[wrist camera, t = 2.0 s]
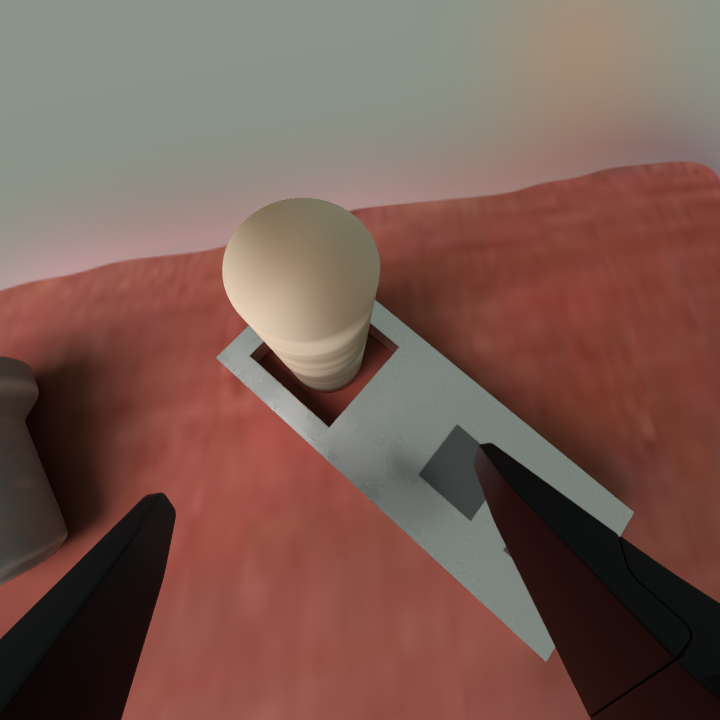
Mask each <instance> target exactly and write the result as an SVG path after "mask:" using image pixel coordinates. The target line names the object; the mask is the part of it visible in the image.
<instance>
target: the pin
mask: <svg viewBox="0 0 720 720" xmlns="http://www.w3.org/2000/svg"><path fill="white" fill-rule="evenodd" d="M222 271H223V282H224V287H225V290H226V293H227V295H228V298H229V300H230V301H231V303H232V305H233V307H234V308H235V309H236V311H237V312H238V313H239V314H240V316H241V317H242V318H243V319H244V320H245V321H246V322H247V323H248V324H249V325H250V326H251V328H252V329H253V330H254V331H255V332H256V333H257V334H258V335H259V336H260V337H261V338H262V340H263V341H264V342H265V343H266V344H267V345H268V346H269V347H270V348H271V349H272V351H273V352H274V353H275V354H276V355H277V356H278V357H279V358H280V359H281V360H282V361H283V363H284V364H285V365H286V366H287V367H288V368H289V369H290V370H291V371H292V372H293V373H294V375H295V376H296V377H297V378H298V379H299V380H300V381H301V382H302V383H303V384H304V385H305V386H307V387H308V388H310V389H312V390H314V391H317V392H322V393H331V392H336V391H339V390H342V389H344V388H345V387H347V386H348V385H350V384H351V383H352V382H353V381H354V379H355V378H356V377H357V375H358V373H359V371H360V367H361V363H362V359H363V354H364V349H365V344H366V340H367V335H368V330H369V326H370V321H371V316H372V311H373V307H374V302H375V297H376V293H377V288H378V283H379V277H380V259H379V253H378V250H377V246H376V244H375V242H374V239H373V237H372V235H371V234H370V232H369V231H368V229H367V228H366V227H365V226H364V224H363V223H362V222H361V221H360V220H359V219H358V218H356V217H355V216H354V215H353V214H351V213H350V212H349V211H347V210H346V209H344V208H342V207H340V206H338V205H335V204H333V203H330V202H327V201H323V200H319V199H311V198H295V199H287V200H282V201H279V202H276V203H273V204H270V205H268V206H265V207H263V208H261V209H260V210H258V211H256V212H255V213H253V214H252V215H251V216H250V217H248V218H247V219H246V220H245V221H244V222H243V223H242V224H241V225H240V226H239V227H238V229H237V230H236V231H235V233H234V234H233V236H232V238H231V239H230V241H229V243H228V246H227V248H226V251H225V255H224V259H223V268H222Z"/></svg>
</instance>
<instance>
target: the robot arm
mask: <svg viewBox="0 0 720 720" xmlns="http://www.w3.org/2000/svg"><path fill="white" fill-rule="evenodd" d="M474 469H475V472H476V475H477V477H478V480H479V483H480V485H481V488H482V491H483V494H484V496H485V499H486V502H487V504H488V507H489V510H490V513H491V515H492V518H493V520H494V522H495V525H496V527H497V529H498V531H499V533H500V535H501V537H502V539H503V541H504V543H505V545H506V547H507V549H508V551H509V553H510V555H511V557H512V560H513V562H514V564H515V566H516V568H517V570H518V572H519V574H520V576H521V578H522V580H523V582H524V584H525V586H526V588H527V590H528V592H529V594H530V596H531V598H532V600H533V602H534V604H535V606H536V609H537V611H538V613H539V615H540V617H541V619H542V621H543V623H544V625H545V627H546V629H547V631H548V633H549V635H550V637H551V639H552V641H553V643H554V645H555V647H556V649H557V651H558V653H559V655H560V658H561V660H562V662H563V664H564V666H565V668H566V670H567V672H568V674H569V676H570V678H571V680H572V682H573V684H574V686H575V688H576V690H577V692H578V694H579V696H580V698H581V700H582V702H583V704H584V707H585V709H586V711H587V713H588V715H589V716H590V717H591V720H720V603H718V602H717V601H715V600H714V599H712V598H711V597H709V596H708V595H706V594H704V593H703V592H701V591H700V590H698V589H697V588H695V587H694V586H692V585H690V584H689V583H687V582H686V581H684V580H683V579H681V578H680V577H678V576H677V575H675V574H674V573H672V572H671V571H669V570H668V569H666V568H665V567H663V566H662V565H660V564H659V563H658V562H656V561H655V560H653V559H652V558H650V557H649V556H648V555H646V554H645V553H643V552H642V551H641V550H639V549H638V548H636V547H635V546H634V545H632V544H631V543H629V542H628V541H627V540H625V539H624V538H623V537H619V536H618V534H617V533H616V532H614V531H613V530H611V529H610V528H609V527H607V526H606V525H605V524H603V523H602V522H600V521H599V520H598V519H596V518H595V517H594V516H592V515H591V514H589V513H588V512H587V511H585V510H584V509H583V508H581V507H580V506H578V505H577V504H576V503H574V502H573V501H572V500H570V499H569V498H567V497H566V496H565V495H563V494H562V493H561V492H559V491H558V490H556V489H555V488H554V487H552V486H551V485H550V484H548V483H547V482H545V481H544V480H543V479H541V478H540V477H539V476H537V475H536V474H534V473H533V472H532V471H530V470H529V469H528V468H526V467H525V466H523V465H522V464H521V463H519V462H518V461H517V460H515V459H514V458H512V457H511V456H510V455H508V454H507V453H506V452H504V451H503V450H501V449H500V448H499V447H497V446H496V445H494V444H493V443H484V444H479V445H478V446H477V448H476V453H475V458H474ZM175 518H176V512H175V509H174V507H173V505H172V504H171V502H170V501H169V499H168V498H167V496H166V495H165V494H164V493H155V494H149V495H147V496H145V497H144V498H142V499H141V500H140V501H139V502H138V503H137V504H136V505H135V506H134V507H133V508H132V509H131V510H130V511H129V512H128V513H127V514H126V515H125V516H124V517H123V518H122V519H121V520H120V521H119V522H118V523H117V524H116V525H115V526H114V527H113V528H112V529H111V530H110V531H109V532H108V533H107V534H106V535H105V536H104V537H103V538H102V539H101V540H100V541H99V542H98V543H97V544H96V545H95V546H94V547H93V548H92V549H91V550H90V551H89V552H88V553H87V554H86V555H85V556H84V557H83V558H82V559H81V560H80V561H79V562H78V563H77V564H76V565H75V566H74V567H73V568H72V569H71V570H70V571H69V572H68V573H67V574H66V575H65V576H64V577H63V578H62V579H61V580H60V581H59V582H58V583H57V584H56V585H54V586H53V587H52V588H51V589H50V590H49V591H48V592H47V593H46V594H45V595H44V596H43V597H42V598H41V599H40V600H39V601H38V602H37V603H36V604H35V605H34V606H33V607H32V608H31V609H30V610H29V611H28V612H27V613H26V614H25V615H24V616H23V617H22V618H21V619H20V620H19V621H18V622H17V623H16V624H15V625H14V626H13V627H12V628H11V629H10V630H9V631H8V632H7V633H6V634H5V635H4V636H3V637H2V638H1V639H0V720H121V718H122V715H123V712H124V708H125V705H126V702H127V698H128V695H129V692H130V688H131V685H132V682H133V678H134V675H135V672H136V668H137V665H138V662H139V658H140V655H141V652H142V648H143V645H144V642H145V638H146V635H147V632H148V628H149V625H150V622H151V618H152V615H153V612H154V608H155V605H156V602H157V598H158V595H159V592H160V588H161V585H162V581H163V578H164V574H165V569H166V564H167V559H168V554H169V549H170V544H171V539H172V534H173V529H174V524H175Z"/></svg>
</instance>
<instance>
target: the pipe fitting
mask: <svg viewBox="0 0 720 720" xmlns="http://www.w3.org/2000/svg"><path fill="white" fill-rule="evenodd" d="M38 395H39V390H38V386H37V384H36V381H35V378H34V375H33V373H32V370H31V368H30V366H29V365H27V364H26V363H25V362H23V361H20V360H17V359H13V358H8V357H1V356H0V586H1V585H3V584H5V583H6V582H8V581H10V580H12V579H14V578H16V577H18V576H19V575H21V574H23V573H25V572H27V571H28V570H30V569H32V568H34V567H35V566H37V565H39V564H40V563H42V562H44V561H45V560H47V559H48V558H50V557H51V556H52V555H53V554H54V553H55V552H56V551H57V550H58V549H59V547H60V546H61V545H62V543H63V542H64V541H65V539H66V537H67V535H68V532H67V528H66V525H65V522H64V519H63V516H62V514H61V511H60V509H59V506H58V504H57V501H56V499H55V496H54V494H53V491H52V489H51V486H50V484H49V481H48V479H47V476H46V474H45V471H44V469H43V466H42V464H41V461H40V459H39V456H38V454H37V451H36V449H35V446H34V444H33V441H32V439H31V436H30V434H29V431H28V429H27V426H26V424H25V419H26V417H27V416H28V414H29V412H30V411H31V409H32V407H33V406H34V404H35V402H36V401H37V398H38Z"/></svg>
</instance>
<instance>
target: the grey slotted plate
mask: <svg viewBox="0 0 720 720" xmlns="http://www.w3.org/2000/svg"><path fill="white" fill-rule="evenodd" d="M368 332H369V333H370V334H371V335H373V336H374V337H375V338H376V339H377V340H379V341H380V342H381V343H382V344H383V345H384V346H386V347H387V348H388V349H389V350H390V351H392V352H393V353H394V354H393V355H392V356H391V357H390V359H389V360H388V361H387V362H386V363H385V364H384V365H383V367H382V368H381V369H380V370H379V371H378V372H377V373H376V375H375V376H374V377H373V378H372V379H371V380H370V381H369V383H368V384H367V385H366V386H365V387H364V388H363V389H362V391H361V392H360V393H359V394H358V395H357V396H356V397H355V399H354V400H353V401H352V402H351V403H350V404H349V405H348V407H347V408H346V409H345V410H344V411H343V412H342V413H341V415H340V416H339V417H338V418H337V419H336V420H335V421H334V423H333V424H332V425H331V426H330V427H329V426H328V425H327V424H325V423H324V422H323V421H322V420H321V419H320V418H319V417H318V416H317V415H315V414H314V413H313V412H312V411H311V410H310V409H309V408H308V407H307V406H306V405H304V404H303V403H302V402H301V401H300V400H299V399H298V398H297V397H296V396H294V395H293V394H292V393H291V392H290V391H289V390H288V389H287V388H286V387H284V386H283V385H282V384H281V383H280V382H279V381H278V380H277V379H276V378H275V377H273V376H272V375H271V374H270V373H269V372H268V371H267V370H266V369H265V368H263V367H262V366H261V365H260V364H259V363H258V362H259V361H260V360H261V359H262V358H263V357H264V356H265V355H266V354H267V353H268V352H269V351H270V349H271V348H270V347H269V346H268V345H267V344H266V343H265V342H264V341H263V340H262V338H261V337H260V336H259V335H258V334H257V333H256V332H255V331H254V330H253V329H252V328H251V326H250V325H249V326H248V327H247V328H246V329H245V330H244V331H243V332H242V333H241V334H240V335H239V336H238V337H237V338H236V339H235V340H234V341H233V342H232V343H231V344H230V345H229V346H228V347H226V348H225V349H224V350H223V351H222V352H221V353H220V354H219V355H218V356H217V357H216V358H217V359H218V360H219V361H220V362H221V363H222V364H223V365H225V366H226V367H227V368H228V369H229V370H230V371H231V372H232V373H233V374H234V375H235V376H237V377H238V378H239V379H240V380H241V381H242V382H243V383H244V384H245V385H246V386H247V387H248V388H250V389H251V390H252V391H253V392H254V393H255V394H256V395H257V396H258V397H259V398H260V399H261V400H263V401H264V402H265V403H266V404H267V405H268V406H269V407H270V408H271V409H272V410H273V411H274V412H276V413H277V414H278V415H279V416H280V417H281V418H282V419H283V420H284V421H285V422H286V423H288V424H289V425H290V426H291V427H292V428H293V429H294V430H295V431H296V432H297V433H298V434H299V435H301V436H302V437H303V438H304V439H305V440H306V441H307V442H308V443H309V444H310V445H311V446H312V447H314V448H315V449H316V450H317V451H318V452H319V453H320V454H321V455H322V456H323V457H324V458H325V459H327V460H328V461H329V462H330V463H331V464H332V465H333V466H334V467H335V468H336V469H337V470H339V471H340V472H341V473H342V474H343V475H344V476H345V477H346V478H347V479H348V480H349V481H350V482H352V483H353V484H354V485H355V486H356V487H357V488H358V489H359V490H360V491H361V492H362V493H363V494H365V495H366V496H367V497H368V498H369V499H370V500H371V501H372V502H373V503H374V504H375V505H376V506H378V507H379V508H380V509H381V510H382V511H383V512H384V513H385V514H386V515H387V516H388V517H390V518H391V519H392V520H393V521H394V522H395V523H396V524H397V525H398V526H399V527H400V528H401V529H403V530H404V531H405V532H406V533H407V534H408V535H409V536H410V537H411V538H412V539H413V540H414V541H416V542H417V543H418V544H419V545H420V546H421V547H422V548H423V549H424V550H425V551H426V552H427V553H429V554H430V555H431V556H432V557H433V558H434V559H435V560H436V561H437V562H438V563H439V564H441V565H442V566H443V567H444V568H445V569H446V570H447V571H448V572H449V573H450V574H451V575H452V576H454V577H455V578H456V579H457V580H458V581H459V582H460V583H461V584H462V585H463V586H464V587H465V588H467V589H468V590H469V591H470V592H471V593H472V594H473V595H474V596H475V597H476V598H477V599H478V600H480V601H481V602H482V603H483V604H484V605H485V606H486V607H487V608H488V609H489V610H490V611H492V612H493V613H494V614H495V615H496V616H497V617H498V618H499V619H500V620H501V621H502V622H503V623H505V624H506V625H507V626H508V627H509V628H510V629H511V630H512V631H513V632H514V633H515V634H516V635H518V636H519V637H520V638H521V639H522V640H523V641H524V642H525V643H526V644H527V645H528V646H529V647H531V648H532V649H533V650H534V651H535V652H536V653H537V654H538V655H539V656H540V657H541V658H543V659H544V660H545V661H547V660H548V658H549V656H550V655H551V653H552V651H553V650H554V648H555V645H554V643H553V641H552V639H551V637H550V635H549V633H548V631H547V629H546V627H545V625H544V623H543V621H542V619H541V617H540V615H539V613H538V611H537V609H536V606H535V604H534V602H533V600H532V598H531V596H530V594H529V592H528V590H527V588H526V586H525V584H524V582H523V580H522V578H521V576H520V574H519V572H518V570H517V568H516V566H515V564H514V562H513V560H512V557H511V555H510V553H509V551H508V549H507V547H506V545H505V543H504V541H503V539H502V537H501V535H500V533H499V531H498V529H497V527H496V525H495V522H494V520H493V518H492V515H491V513H490V510H489V507H488V504H487V502H486V499H485V496H484V494H483V491H482V488H481V485H480V483H479V480H478V477H477V475H476V472H475V469H474V458H475V453H476V448H477V446H478V445H479V444H484V443H493V444H494V445H496V446H497V447H499V448H500V449H501V450H503V451H504V452H506V453H507V454H508V455H510V456H511V457H512V458H514V459H515V460H517V461H518V462H519V463H521V464H522V465H523V466H525V467H526V468H528V469H529V470H530V471H532V472H533V473H534V474H536V475H537V476H539V477H540V478H541V479H543V480H544V481H545V482H547V483H548V484H550V485H551V486H552V487H554V488H555V489H556V490H558V491H559V492H561V493H562V494H563V495H565V496H566V497H567V498H569V499H570V500H572V501H573V502H574V503H576V504H577V505H578V506H580V507H581V508H583V509H584V510H585V511H587V512H588V513H589V514H591V515H592V516H594V517H595V518H596V519H598V520H599V521H600V522H602V523H603V524H605V525H606V526H607V527H609V528H610V529H611V530H613V531H614V532H616V533H617V534H618V536H619V537H620V536H621V534H622V532H623V531H624V529H625V527H626V525H627V524H628V522H629V520H630V519H631V517H632V515H633V514H634V512H633V511H632V510H631V509H629V508H628V507H627V506H626V505H625V504H623V503H622V502H621V501H620V500H618V499H617V498H616V497H615V496H614V495H612V494H611V493H610V492H609V491H607V490H606V489H605V488H604V487H603V486H601V485H600V484H599V483H598V482H597V481H595V480H594V479H593V478H592V477H590V476H589V475H588V474H587V473H586V472H584V471H583V470H582V469H581V468H579V467H578V466H577V465H576V464H575V463H573V462H572V461H571V460H570V459H568V458H567V457H566V456H565V455H564V454H562V453H561V452H560V451H559V450H558V449H556V448H555V447H554V446H553V445H551V444H550V443H549V442H548V441H547V440H545V439H544V438H543V437H542V436H540V435H539V434H538V433H537V432H536V431H534V430H533V429H532V428H531V427H530V426H528V425H527V424H526V423H525V422H523V421H522V420H521V419H520V418H519V417H517V416H516V415H515V414H514V413H512V412H511V411H510V410H509V409H508V408H506V407H505V406H504V405H503V404H501V403H500V402H499V401H498V400H497V399H495V398H494V397H493V396H492V395H491V394H489V393H488V392H487V391H486V390H484V389H483V388H482V387H481V386H480V385H478V384H477V383H476V382H475V381H473V380H472V379H471V378H470V377H469V376H467V375H466V374H465V373H464V372H462V371H461V370H460V369H459V368H458V367H456V366H455V365H454V364H453V363H452V362H450V361H449V360H448V359H447V358H445V357H444V356H443V355H442V354H441V353H439V352H438V351H437V350H436V349H434V348H433V347H432V346H431V345H430V344H428V343H427V342H426V341H425V340H424V339H422V338H421V337H420V336H419V335H417V334H416V333H415V332H414V331H413V330H411V329H410V328H409V327H408V326H406V325H405V324H404V323H403V322H402V321H400V320H399V319H398V318H397V317H395V316H394V315H393V314H392V313H391V312H389V311H388V310H387V309H386V308H385V307H383V306H382V305H381V304H380V303H378V302H377V301H376V300H375V302H374V307H373V311H372V316H371V321H370V326H369V330H368Z"/></svg>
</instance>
